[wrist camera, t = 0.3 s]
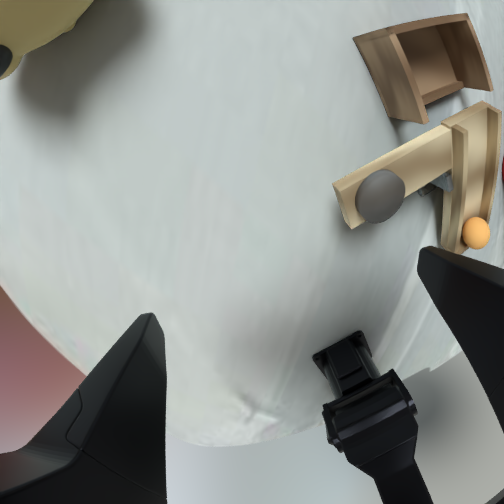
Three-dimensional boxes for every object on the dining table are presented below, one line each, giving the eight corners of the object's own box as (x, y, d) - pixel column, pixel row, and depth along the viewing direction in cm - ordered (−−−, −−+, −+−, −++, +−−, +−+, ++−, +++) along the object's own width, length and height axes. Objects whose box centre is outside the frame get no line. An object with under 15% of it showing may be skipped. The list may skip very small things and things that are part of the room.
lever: (474, 218, 25) (488, 231, 23) (365, 293, 27) (377, 312, 25) (482, 100, 15) (503, 112, 13) (331, 180, 17) (351, 201, 15)
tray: (459, 84, 18) (493, 90, 14) (388, 116, 19) (423, 124, 15) (433, 17, 14) (467, 13, 10) (352, 37, 16) (384, 27, 12)
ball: (474, 228, 24) (493, 245, 21) (456, 242, 24) (475, 261, 22) (476, 205, 22) (497, 222, 19) (456, 220, 22) (478, 238, 20)
